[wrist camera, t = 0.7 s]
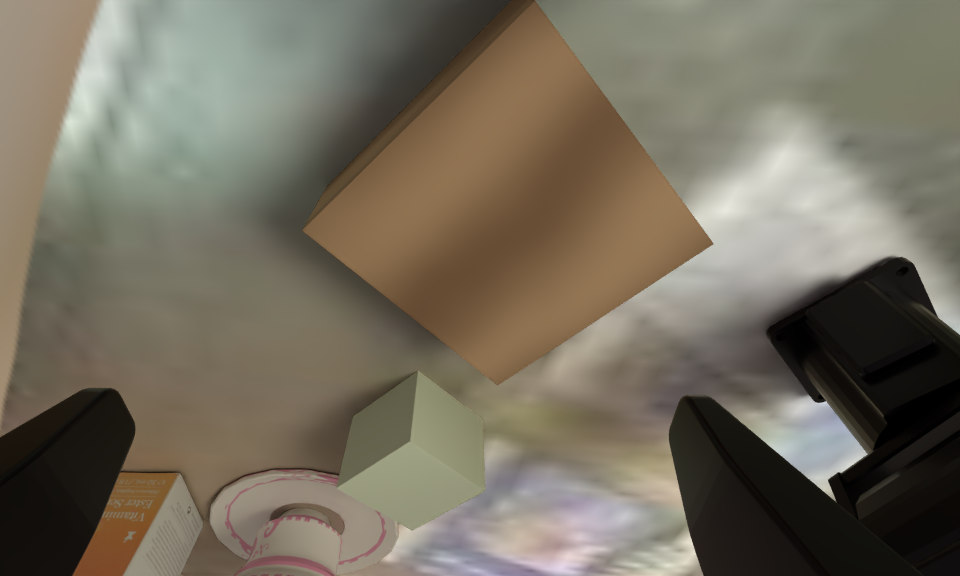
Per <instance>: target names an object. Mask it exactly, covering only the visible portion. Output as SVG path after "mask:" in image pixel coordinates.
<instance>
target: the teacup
mask: <svg viewBox="0 0 960 576" xmlns="http://www.w3.org/2000/svg"><path fill="white" fill-rule="evenodd" d="M338 478H339V476H338V475H333V474H328V473H322V472H317V471H311V470H270V471H266V472H261V473H257V474H252V475H248V476H244V477H243V478H241V479H239V480H237V481H235V482H233V483H231V484H229V485H228V486H226V487H224V488H223V490H222V491H221V492H220V493H219V495H218V496H217V497H216V498H215V500H214V501H213V502H212V505H211V509H210V520H209V523H210V525H211V527H212V529H213V531H214V533H215V535H216V537H217V539H218V540H219V541H220V542H222V543H223V544H224V545H225V546H226V547H227V548H228V549H229V550H230V551H232V552H233V553H234V554H236V555H238V556H240V557H242V558H244V559H245V560H247V563H246V564H245V565H244V566H243V567H242V568H241V569H240V570H239V571H237V572H236V573H235V575H234V576H336V575H339V574H344V573H350V572H355V571H358V570H361V569H363V568H366V567H368V566H370V565H373V564H375V563H378V562H379V561H380V560H381V559H383V558H384V557H385V556H386V555H387V554H389V553H390V552H391V551H392V549H393V547H394V545H395V543H396V541H397V539H398V536H399V529H398V522H396V521H394V520H392V519H390V518H389V517H387V516H385V515H383V514H381V513H380V512H378V511H376V510H374V509H372V508H371V507H369V506H367V505H365V504H363V503H362V502H360V501H358V500H356V499H354V498H353V497H351V496H349V495H347V494H346V493H344V492H342V491H340V490H338V489H337V488H336V487H337V482H338ZM293 503H310V504H316V505H321V506H323V507H326V508H329V509H331V510H332V511H334V512H336V513H337V514H339V516H340V517H341V518H342V519H343V521H344V526H345V527H344V530H343V533H341V534H340V535H339V533H338V532H337V531H336V530H335V529H334V528H332V527H331V524H330V521H329V519H328V518H327V517H326V516H325V515H324V514H322V513H321V512H318V511H316V510H312V509H307V508H296V509H291V510H288V511H286V512H284V513H283V514H282V515H281V516H280V517H279V518H277V519H274V520H271V521H270V518H271V514H272V513H273V512H274V511H275V510H276V509H277V508H279V507H281V506H284V505H288V504H293Z"/></svg>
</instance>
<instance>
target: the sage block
mask: <svg viewBox="0 0 960 576" xmlns="http://www.w3.org/2000/svg"><path fill="white" fill-rule="evenodd" d="M336 488H337V489H338V490H340V491H342V492H344V493H346V494H347V495H349V496H351V497H353V498H354V499H356V500H358V501H360V502H362V503H363V504H365V505H367V506H369V507H371V508H372V509H374V510H376V511H378V512H380V513H381V514H383V515H385V516H387V517H389V518H390V519H392V520H394V521H396V522H398V523H399V524H401V525H403V526H405V527H407V528H408V529H410V530H414V529H416V528H418V527H420V526H422V525H423V524H425V523H427V522H429V521H431V520H433V519H435V518H436V517H438V516H440V515H442V514H444V513H446V512H447V511H449V510H451V509H453V508H455V507H457V506H458V505H460V504H462V503H464V502H466V501H468V500H470V499H471V498H473V497H475V496H477V495H479V494H481V493H482V492H484V491H485V468H484V439H483V419H482V418H480V417H479V416H478V415H476V414H475V413H474V412H472V411H471V410H470V409H468V408H467V407H466V406H464V405H463V404H462V403H460V402H459V401H458V400H456V399H455V398H454V397H452V396H451V395H450V394H448V393H447V392H446V391H444V390H443V389H442V388H440V387H439V386H438V385H436V384H435V383H434V382H432V381H431V380H430V379H428V378H427V377H426V376H424V375H423V374H422V373H420V372H419V371H417V372H416V373H414V374H413V375H411V376H410V377H408V378H407V379H406V380H404V381H403V382H401V383H400V384H399V385H397V386H396V387H394V388H393V389H391V390H390V391H389V392H387V393H386V394H384V395H383V396H381V397H380V398H379V399H377V400H376V401H374V402H373V403H371V404H370V405H369V406H367V407H366V408H364V409H363V410H361V411H360V412H359V413H357V414H356V415H354V416H353V419H352V423H351V428H350V432H349V436H348V440H347V444H346V449H345V453H344V457H343V461H342V466H341V470H340V474H339V478H338V482H337V487H336Z"/></svg>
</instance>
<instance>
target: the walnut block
mask: <svg viewBox="0 0 960 576" xmlns="http://www.w3.org/2000/svg"><path fill="white" fill-rule="evenodd" d="M302 231H303V232H305V233H306V234H307V235H308V236H310V237H311V238H312V239H314V240H315V241H316V242H317V243H319V244H320V245H321V246H322V247H324V248H325V249H326V250H327V251H329V252H330V253H331V254H332V255H334V256H335V257H336V258H337V259H339V260H340V261H341V262H343V263H344V264H345V265H346V266H348V267H349V268H350V269H351V270H353V271H354V272H355V273H356V274H358V275H359V276H360V277H361V278H363V279H364V280H365V281H367V282H368V283H369V284H370V285H372V286H373V287H374V288H375V289H377V290H378V291H379V292H380V293H382V294H383V295H384V296H385V297H387V298H388V299H389V300H391V301H392V302H393V303H394V304H396V305H397V306H398V307H399V308H401V309H402V310H403V311H404V312H406V313H407V314H408V315H409V316H411V317H412V318H413V319H414V320H416V321H417V322H418V323H420V324H421V325H422V326H423V327H425V328H426V329H427V330H428V331H430V332H431V333H432V334H433V335H435V336H436V337H437V338H438V339H440V340H441V341H442V342H444V343H445V344H446V345H447V346H449V347H450V348H451V349H452V350H454V351H455V352H456V353H457V354H459V355H460V356H461V357H462V358H464V359H465V360H466V361H468V362H469V363H470V364H471V365H473V366H474V367H475V368H476V369H478V370H479V371H480V372H481V373H483V374H484V375H485V376H486V377H488V378H489V379H490V380H491V381H493V382H494V383H495V384H497V385H499V384H500V383H502V382H503V381H505V380H506V379H508V378H510V377H511V376H513V375H514V374H516V373H517V372H519V371H520V370H522V369H523V368H525V367H526V366H528V365H529V364H531V363H532V362H534V361H535V360H537V359H539V358H540V357H542V356H543V355H545V354H546V353H548V352H549V351H551V350H552V349H554V348H555V347H557V346H558V345H560V344H561V343H563V342H565V341H566V340H568V339H569V338H571V337H572V336H574V335H575V334H577V333H578V332H580V331H581V330H583V329H584V328H586V327H587V326H589V325H590V324H592V323H594V322H595V321H597V320H598V319H600V318H601V317H603V316H604V315H606V314H607V313H609V312H610V311H612V310H613V309H615V308H616V307H618V306H619V305H621V304H623V303H624V302H626V301H627V300H629V299H630V298H632V297H633V296H635V295H636V294H638V293H639V292H641V291H642V290H644V289H645V288H647V287H648V286H650V285H652V284H653V283H655V282H656V281H658V280H659V279H661V278H662V277H664V276H665V275H667V274H668V273H670V272H671V271H673V270H674V269H676V268H678V267H679V266H681V265H682V264H684V263H685V262H687V261H688V260H690V259H691V258H693V257H694V256H696V255H697V254H699V253H700V252H702V251H703V250H705V249H707V248H708V247H710V246H711V245H713V242H712V241H711V239H710V238H709V237H708V235H707V234H706V233H705V231H704V230H703V229H702V227H701V226H700V224H699V223H698V222H697V220H696V219H695V218H694V216H693V215H692V214H691V212H690V211H689V210H688V208H687V207H686V205H685V204H684V203H683V201H682V200H681V199H680V197H679V196H678V195H677V193H676V192H675V190H674V189H673V188H672V186H671V185H670V184H669V182H668V181H667V180H666V178H665V177H664V175H663V174H662V173H661V171H660V170H659V169H658V167H657V166H656V165H655V163H654V162H653V161H652V159H651V158H650V156H649V155H648V154H647V152H646V151H645V150H644V148H643V147H642V146H641V144H640V143H639V141H638V140H637V139H636V137H635V136H634V135H633V133H632V132H631V131H630V129H629V128H628V126H627V125H626V124H625V122H624V121H623V120H622V118H621V117H620V116H619V114H618V113H617V112H616V110H615V109H614V107H613V106H612V105H611V103H610V102H609V101H608V99H607V98H606V97H605V95H604V94H603V92H602V91H601V90H600V88H599V87H598V86H597V84H596V83H595V82H594V80H593V79H592V77H591V76H590V75H589V73H588V72H587V71H586V69H585V68H584V67H583V65H582V64H581V63H580V61H579V60H578V58H577V57H576V56H575V54H574V53H573V52H572V50H571V49H570V48H569V46H568V45H567V43H566V42H565V41H564V39H563V38H562V37H561V35H560V34H559V33H558V31H557V30H556V28H555V27H554V26H553V24H552V23H551V22H550V20H549V19H548V18H547V16H546V15H545V14H544V12H543V11H542V9H541V8H540V7H539V5H538V4H537V3H536V1H535V0H512V1H511V2H510V3H509V4H508V5H507V6H506V7H505V8H504V9H503V10H502V11H501V12H500V13H499V14H498V15H497V16H496V17H495V18H494V19H493V20H492V21H491V22H490V23H489V24H488V25H487V26H486V27H485V28H484V29H483V30H482V31H481V32H480V33H479V34H478V35H477V36H476V37H475V38H474V39H473V40H472V41H471V42H470V43H469V44H468V45H467V46H466V47H465V48H464V49H463V50H462V51H461V52H460V53H459V54H458V55H457V56H456V57H455V58H454V59H453V60H452V61H451V62H450V63H449V64H448V65H447V66H446V67H445V68H444V69H443V70H442V71H441V72H440V73H439V74H438V75H437V76H436V77H435V78H434V79H433V80H432V81H431V82H430V83H429V84H428V85H427V86H426V87H425V88H424V89H423V90H422V91H421V92H420V93H419V94H418V95H417V96H416V97H415V98H414V99H413V100H412V101H411V102H410V103H409V104H408V105H407V106H406V107H405V108H404V109H403V110H402V111H401V112H400V113H399V114H398V115H397V116H396V117H395V118H394V119H393V120H392V121H391V122H390V123H389V124H388V125H387V126H386V127H385V128H384V129H383V130H382V132H381V133H380V134H379V135H378V136H377V137H376V138H375V139H374V140H373V141H372V142H371V143H370V144H369V145H368V146H367V147H366V148H365V149H364V150H363V151H362V152H361V153H360V154H359V155H358V156H357V157H356V158H355V159H354V160H353V161H352V162H351V163H350V164H349V165H348V166H347V167H346V168H345V169H344V170H343V171H342V172H341V173H340V174H339V175H338V176H337V177H336V178H335V179H334V180H333V181H332V182H331V183H330V184H329V185H328V186H327V187H326V189H325V191H324V192H323V194H322V196H321V198H320V199H319V201H318V203H317V205H316V207H315V208H314V210H313V212H312V214H311V215H310V217H309V219H308V221H307V223H306V224H305V226H304V228H303V230H302Z"/></svg>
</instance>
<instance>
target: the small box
mask: <svg viewBox="0 0 960 576" xmlns="http://www.w3.org/2000/svg"><path fill="white" fill-rule="evenodd" d="M202 527H203V521H202V519H201V516H200V514H199V512H198V510H197V508H196V506H195V503H194V501H193V499H192V497H191V495H190V493H189V491H188V488H187V486H186V484H185V482H184V480H183V478H182V475H181V474H180V473H125V472H120V474H119V476H118V479H117V481H116V484H115V486H114V489H113V491H112V493H111V496H110V498H109V501H108V503H107V506H106V508H105V511H104V513H103V515H102V518H101V520H100V522H99V524H98V527H97V529H96V531H95V533H94V535H93V537H92V539H91V541H90V543H89V545H88V547H87V549H86V551H85V553H84V555H83V557H82V559H81V561H80V562H79V564H78V566H77V568H76V570H75V572H74V574H73V576H180V575H181V573H182V571H183V569H184V566H185V564H186V562H187V560H188V558H189V556H190V553H191V551H192V549H193V547H194V545H195V543H196V540H197V538H198V536H199V534H200V532H201V530H202Z"/></svg>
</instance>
